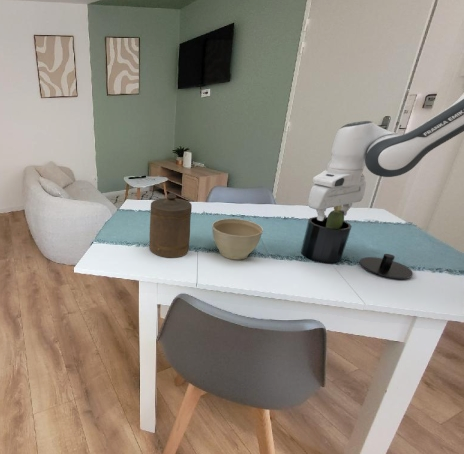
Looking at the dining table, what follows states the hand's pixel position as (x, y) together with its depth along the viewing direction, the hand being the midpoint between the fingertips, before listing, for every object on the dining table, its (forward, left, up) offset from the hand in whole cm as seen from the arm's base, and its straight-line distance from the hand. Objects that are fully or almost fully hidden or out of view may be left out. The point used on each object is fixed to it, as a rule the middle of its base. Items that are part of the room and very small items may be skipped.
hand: (331, 217), depth 96 cm
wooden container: (+26, +45, -15) cm, 54 cm away
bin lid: (-14, -9, -14) cm, 21 cm away
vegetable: (0, -2, -14) cm, 14 cm away
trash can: (0, 0, -14) cm, 14 cm away
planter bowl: (+13, +26, -15) cm, 33 cm away
